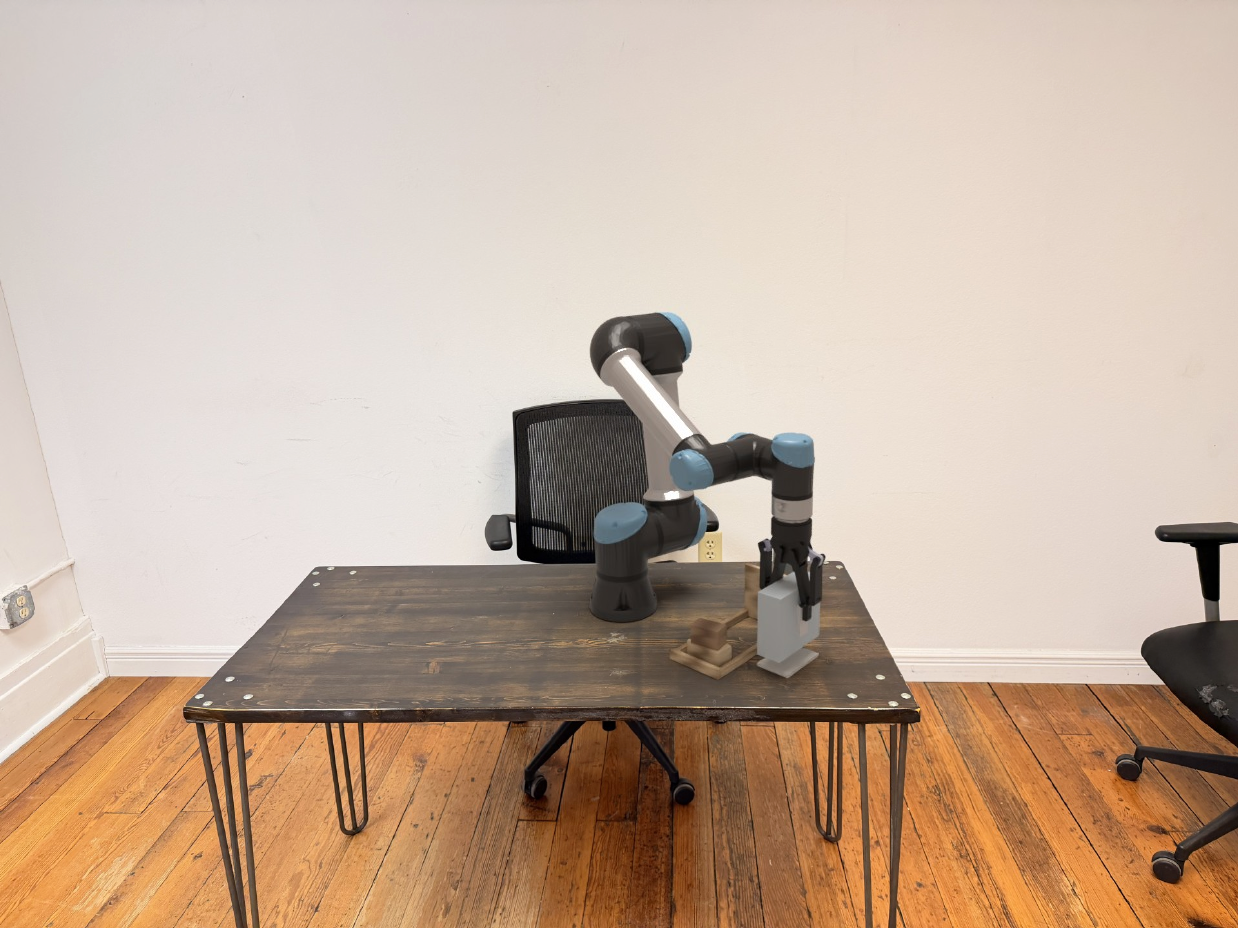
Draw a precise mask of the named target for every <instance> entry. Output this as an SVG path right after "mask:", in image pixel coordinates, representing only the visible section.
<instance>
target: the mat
mask: <svg viewBox="0 0 1238 928" xmlns="http://www.w3.org/2000/svg"><path fill="white" fill-rule="evenodd" d="M819 655H820V654H819V652H816V651H814V650H812V649H809V648H806V647H804V646H803V647H802V648H801V649H799V650H798V651H796V652H795V653H793V654H792V655H790V656H789V657H788V658H786V659H785V660H783V661H782V662H780V663H778V662H775V661H773V660H770V659H768V658H765V657H763V658H762V659H761V660H759V661H758V662H756V666H757V667H758V668H759V667H760V668H762V669H764V670H766V671H769V672H771V673H773V674H776V675H779V676H780V677H784V678H786V679H789V678H790V677H792V676H793V675H794V674H796V673H798V672H799V670H801V669H802V668H804V667H806V666H807V665H808V664H810V663H811V662H812V661H814V660H815V659H817V658H818V657H820V656H819Z"/></svg>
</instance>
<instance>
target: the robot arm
mask: <svg viewBox="0 0 1238 928" xmlns="http://www.w3.org/2000/svg"><path fill="white" fill-rule="evenodd" d="M692 347H693V341H692V336H691V333H690V330H689V328H688V326H687V324H686V323H685V321H683V319H682V318H681V317H680V316H679V315H677V314H676V313H673V312H657V311H655V312H652V313H642V314H634V315H625V316H615V317H613V318H609V319H607V320H605V321H603V323H601V324H600V325H599V326H598V328H597V329H596V330H595V331H594V333H593V335H592V338H591V340H590V345H589V358H590V363H591V366H592V368H593V371H594V372H595V374H596V375H597V377H598V378H599V379H600V380H601V382H602V383H603V385H606V386H607V387H610V388H611V387H613V388H614V390H615V391H616V392H617V394H618V395H619V396H620V397H621V399H622V400H623V401H624V402H625V403H626V405H627V406H628V407H629V409H630V410H631V411H632V412H633V413H634V415H635V416H636V417H637V418H638V420H639V421H640V422H641V423H642V431H643V440H644V450H645V451H644V452H645V460H646V461H645V463H646V470H647V471H646V472H647V480H648V482H647V483H648V489H647V490H646V492H645V493H644V494H643V496H642V497H643V504H642V503H640V502H635V501H634V502H631V501H629V502H628V501H627V502H625V503H623V502H618V503H614V504H611V505H608V506H606V507H604V508H602V509H601V510H600V511H599V512H598V513H597V514H596V517H595V518H594V525H593V526H594V527H593V538H594V551H595V552H594V554H595V569H596V571H595V573H596V577H595V581H594V584H593V588H592V593H591V594H590V596H589V597H590V598H589V610H590V612H591V613H592V614H593V615H594V616H595V617H596V618H599V619H601V620H605V621H608V622H615V623H616V622H617V623H626V622H627V623H629V622H635V621H639V620H643V619H646V618H648V617H649V616H651V615H653V614H654V613H655V612H656V610H657V608H658V607H657V605H658V602H657V599H658V598H657V594H656V592H655V590H654V587H653V584H652V581H651V578H650V575H649V560H651V559H654V558H657V557H661V556H664V555H667V554H671V553H674V552H675V553H676V552H681V551H685V550H688V549H689V548H691V547H695V546H696V545H698V544H699V543H700V542H701V540H703V538H704V537H705V534H706V532H707V527H708V526H707V525H708V516H707V510H706V508H705V507H703V505H704V503H703V501H702V500H701V499H700V498H698V497H697V496H696V495H695V491H697V490H698V491H699V490H706V489H707V488H710V487H714V486H718V485H722V484H725V483H731V482H735V481H740V480H742V479H743V480H744V479H747V478H752V477H758V478H761V479H764V480H766V481H770V482H771V503H770V505H771V508H770V512H771V515H772V516H771V518H770V534H771V535H770V536H771V538H770V539H769V538H765V539H762V540H760V541H758V542H757V546H758V550H759V567H760V580H759V587H760V589H761V590H762V589H764V588H766V587H768V586H769V585H771V584H773V583H775V582H776V581H778V580H780V579H782V578H783V575H784V571H785V567H786V564H787V563H788V564H789V565H791V566H792V570H793V572H795V577H796V581H797V586H798V591H799V596H800V601H801V603H800V604H798V605H797V634H796V636H797V637H801V636H803V635H804V634H806V633H807V632H808V620H810V619H811V617H812V606H815V605H816V604H818V603H819V602H820V603H821V602H822V601H823V566H824V563H825V560H826V558H827V557H826V555H825V553H818V552H816V551H815V550H813V546H812V543H811V540H812V536H813V519H812V517H813V513H814V512H813V504H814V502H813V501H814V471H815V462H816V456H815V444H814V439H813V438H812V437H811V436H809V435H808V434H805V433H797V432H783V433H778V434H776V435H774V437H772V439H771V438H767V437H764V436H760V435H758V434H755V433H751V432H749V433H747V432H737V433H734V434H733V435H732V436H730V437H729V439H727V441H724V442H719V443H714V444H712V443H710V442H709V440H708V439H707V438H706V436H704V435H703V434H702V432H701V431H700V430H699V429H698V428H697V426H696V425H695V424H694V423H693V422H692V421H691V420H690V418H689V417H688V416H687V415H686V414H685V412H684V411H683V410H682V409H681V408H680V401H679V399H680V397H679V387H678V380H679V378H680V377H681V376H682V374H683V373H684V368H683V367H684V366H683V364H685V362H687V360H689V358H690V356H691V353H692V350H693V348H692ZM773 550H774V552H775V554H776V556H775V559H774V563H773ZM807 558H808V559H809V561H808V562H809V563H807ZM773 564H774V568H773ZM809 564H810V566H809ZM808 566H809V571H808ZM808 572H810V581H809V576H808Z"/></svg>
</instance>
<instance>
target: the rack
mask: <svg viewBox="0 0 1238 928" xmlns="http://www.w3.org/2000/svg"><path fill="white" fill-rule="evenodd" d="M785 576H787V575H785V574H784V575H783V578H784V577H785ZM759 580H760V565H759V566H758V565H755V564H752V563H750V562H747V563H745V564H744V608H743V609H742V610H739V611H738V612H736V613H734V614H733V615H731V616H729V617H727V618H726V619H724V620H723V621H720V623H722V624H726V625H727V630H728V629H730V628H731V627H732V626H734V625H735V624H738V623H739V622H742V621H743V620H744V619H746V618H748V617H749V618H753V619H756V620H757V621H758V592H759V591H761V589H760V587H759ZM756 656H757V643H754V644H753V646H751V647H749V648H748V649H746V650H745V651H743V652H741V653H740V654H739V655H736V656H735V657H733V658H732V660H731V661H729V662H727V663H726V664H724V665H723V666H721V667H720V668H719V667H717V666H714V665H712V664H710V663H707V662H705V661H703V660H700V659H698V658H696V657H693V656H691V655H689V654H687V641H686V642H685V643H683V644H682V645H680V646H678V647H677V648H674V647H672V648H671V649H669V659H670V660H672V661H674V662H677V663H679V664H681V665H683V666H685V667H688V668H690V669H692V670H695V671H697V672H699V673H701V674H704V675H706V676H708V677H710V678H713V679H715V680H717V681H718V680H721V679H722V678H724V676H727V675H728V674H729V673H731V672H733V671H734V670H736V669H737V668H739V667H741V666H742V665H743V664H745V663H746V662H748V661H749V660H751V659H752V658H754V657H756Z"/></svg>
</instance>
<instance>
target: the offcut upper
mask: <svg viewBox="0 0 1238 928" xmlns="http://www.w3.org/2000/svg"><path fill="white" fill-rule="evenodd" d="M727 630H728V629H727V625H726V624H722V623H721V622H718V621H715V620H711V619H707V618H703V617H698V618H697V619H696V620H695V621H692V623H691V624H690V638H691V643H692V644H696V645H699V646H703V647H706V648H709V649H713V650H716V651H718V650H719V649H721V648H722V647H723V646H724V645H725V644H728V643H727V641H728V639H727V637H728V636H727V635H728V634H727Z"/></svg>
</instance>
